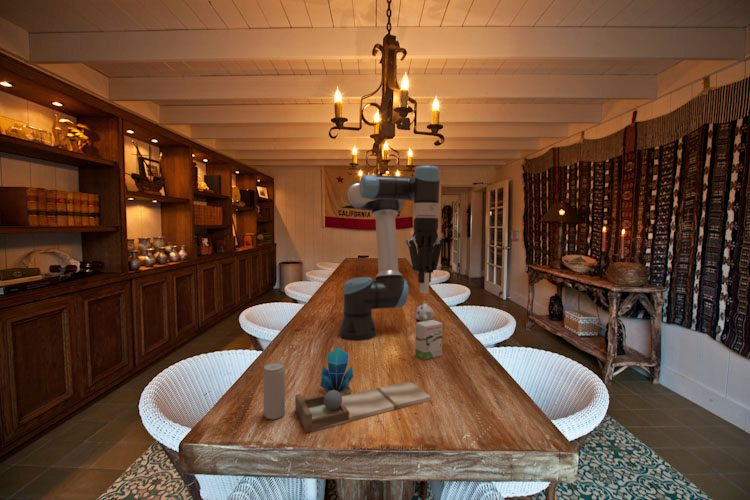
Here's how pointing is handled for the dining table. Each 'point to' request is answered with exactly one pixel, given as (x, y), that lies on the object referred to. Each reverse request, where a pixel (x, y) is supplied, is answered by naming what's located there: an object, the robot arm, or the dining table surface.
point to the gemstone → (337, 373)
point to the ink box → (428, 339)
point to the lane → (357, 405)
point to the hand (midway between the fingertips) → (424, 292)
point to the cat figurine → (424, 312)
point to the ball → (332, 400)
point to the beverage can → (274, 390)
